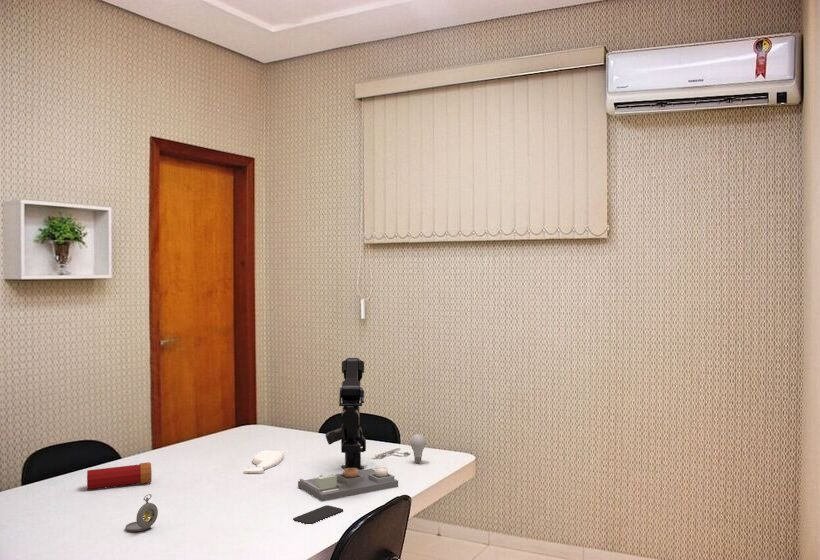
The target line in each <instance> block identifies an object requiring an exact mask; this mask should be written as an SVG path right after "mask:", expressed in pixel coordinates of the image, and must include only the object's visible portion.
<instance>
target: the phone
mask: <svg viewBox="0 0 820 560" xmlns="http://www.w3.org/2000/svg"><path fill="white" fill-rule="evenodd" d="M341 512H342V513H344V509H343V508H341V507H336V506H333V505H329V504H328V505H323V506H321V507H318V508H316V509H313V510H310V511H308V512H306V513H303V514H300V515H298V516H295V517H293V519H292V521H293V520H294V521H293V522H296V521H298V522H297V523H299V522H301V523H300V524H303V523H304V525H306V524H312V525H314V524H316V522H317V523H319V522H321V521H320V520H322V521H323V519H324V520H326V519H325V518H327V519H328V517H329V518H331V517H330V516H332V517H334V516H337V515H339V514H342V513H341ZM338 513H339V514H338ZM336 514H337V515H336ZM333 515H334V516H333ZM318 521H319V522H318Z"/></svg>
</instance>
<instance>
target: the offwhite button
mask: <svg viewBox="0 0 820 560" xmlns="http://www.w3.org/2000/svg"><path fill="white" fill-rule="evenodd" d="M374 470H375V476H379V477H383V476H387V475H388V473H389V468H388V467H386V466H377V467H374Z"/></svg>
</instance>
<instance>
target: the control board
mask: <svg viewBox="0 0 820 560" xmlns="http://www.w3.org/2000/svg"><path fill="white" fill-rule="evenodd" d="M334 475H335V476H337V487H336V488H330V489H325V490H321V489H320V488H318V487H317V477H314V478H310V479H309V478H308V479H303V478H299V480H298V481H297V488H298V487H299V488H298V489H300V488H301V489H300V490H302V489H303V490H302V491H304V490H305V491H306V492H305V491H304V492H305V493H307V492H308V493H307V494H309V493H310V494H309V495H311V496H312V495H313V496H312V497H314V498H315V499H317V498H318V501H321V502H327V501H331V500H332V501H333V500H336V499H340V498H341V499H342V498H346V497H352V496H357V495H362V494H366V493H373V492H376V491H377V492H378V491H382V490H388V489H393V488H397V487H399V480H398V479H396V478H395V475H393V474H390V473H389V472H388V475H387V476H383V477H379V476H375V469H372V468H367V469H362V470H361V469H359V470H358V476H356V477H345V476H344V472H343V473H338V474H337V473H336V474H334ZM321 476H323V475H322V474H320V475H319V477H321ZM326 500H327V501H326Z"/></svg>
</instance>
